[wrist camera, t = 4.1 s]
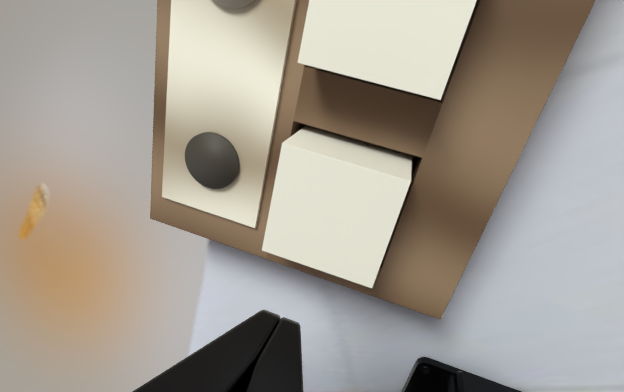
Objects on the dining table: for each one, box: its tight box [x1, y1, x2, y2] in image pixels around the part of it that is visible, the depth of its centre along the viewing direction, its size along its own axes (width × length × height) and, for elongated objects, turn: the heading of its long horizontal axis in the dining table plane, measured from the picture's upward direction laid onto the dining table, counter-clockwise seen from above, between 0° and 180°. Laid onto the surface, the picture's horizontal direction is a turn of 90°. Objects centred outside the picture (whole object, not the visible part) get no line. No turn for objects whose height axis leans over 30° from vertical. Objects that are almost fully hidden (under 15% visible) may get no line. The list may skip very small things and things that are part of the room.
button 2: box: [262, 126, 412, 288], centre depth 14 cm, size 4×4×3 cm
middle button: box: [297, 0, 477, 100], centre depth 11 cm, size 4×4×3 cm
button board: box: [150, 0, 595, 319], centre depth 13 cm, size 22×14×3 cm, turn 167°
